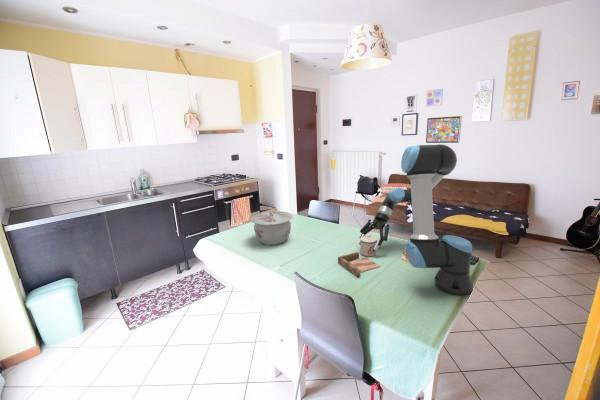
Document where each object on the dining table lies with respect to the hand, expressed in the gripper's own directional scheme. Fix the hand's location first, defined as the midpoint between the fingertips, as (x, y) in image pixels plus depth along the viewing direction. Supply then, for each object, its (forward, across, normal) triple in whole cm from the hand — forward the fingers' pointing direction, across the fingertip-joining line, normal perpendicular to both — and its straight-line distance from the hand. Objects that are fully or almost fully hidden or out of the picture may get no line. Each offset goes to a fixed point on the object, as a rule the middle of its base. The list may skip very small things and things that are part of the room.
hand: (367, 247), depth 161 cm
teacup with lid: (+1, 0, -6) cm, 6 cm away
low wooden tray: (+13, -6, +6) cm, 15 cm away
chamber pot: (+22, +56, +15) cm, 63 cm away
